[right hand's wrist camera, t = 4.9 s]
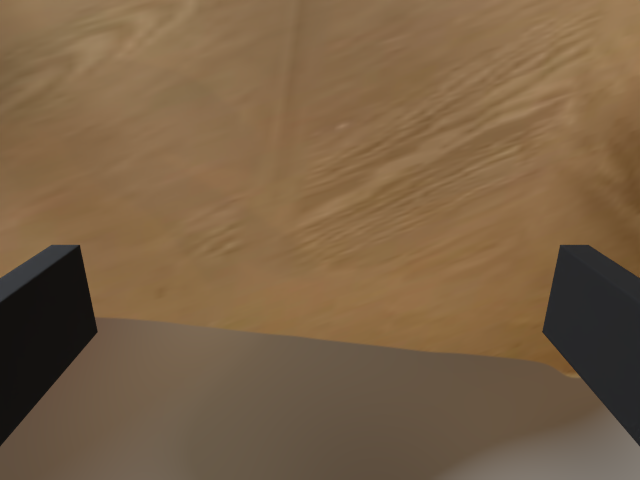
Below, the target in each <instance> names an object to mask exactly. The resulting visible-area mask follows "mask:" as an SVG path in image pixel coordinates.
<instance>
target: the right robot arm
mask: <svg viewBox="0 0 640 480" xmlns="http://www.w3.org/2000/svg"><path fill="white" fill-rule="evenodd" d="M542 332H543V333H544V334H545V336H546V337H547V338H548V339H549V340H550V341H551V343H552V344H553V345H554V346H555V347H556V349H557V350H558V351H559V352H560V353H561V354H562V356H563V357H564V358H565V359H566V360H567V361H568V363H569V364H570V365H571V366H572V367H573V368H574V370H575V371H576V372H577V373H578V374H579V376H580V377H581V378H582V379H583V380H584V381H585V383H586V384H587V385H588V386H589V387H590V388H591V390H592V391H593V392H594V393H595V394H596V395H597V397H598V398H599V399H600V400H601V401H602V402H603V404H604V405H605V406H606V407H607V408H608V410H609V411H610V412H611V413H612V414H613V415H614V417H615V418H616V419H617V420H618V421H619V422H620V424H621V425H622V426H623V427H624V428H625V429H626V431H627V432H628V433H629V434H630V435H631V436H632V438H633V439H634V440H635V441H636V442H637V443H638V445H639V446H640V278H638V277H637V276H635V275H634V274H632V273H631V272H629V271H628V270H626V269H625V268H623V267H622V266H620V265H618V264H617V263H615V262H614V261H612V260H611V259H609V258H608V257H606V256H605V255H603V254H601V253H600V252H598V251H597V250H595V249H594V248H592V247H591V246H589V245H560V249H559V254H558V259H557V263H556V268H555V273H554V278H553V283H552V288H551V293H550V297H549V302H548V307H547V312H546V317H545V322H544V327H543V331H542ZM96 333H97V327H96V322H95V317H94V312H93V307H92V302H91V297H90V293H89V288H88V283H87V278H86V273H85V268H84V263H83V259H82V254H81V249H80V245H51V246H49V247H48V248H46V249H45V250H43V251H42V252H40V253H39V254H37V255H35V256H34V257H32V258H31V259H29V260H28V261H26V262H25V263H23V264H22V265H20V266H18V267H17V268H15V269H14V270H12V271H11V272H9V273H8V274H6V275H5V276H3V277H2V278H0V446H1V445H2V443H3V442H4V441H5V440H6V439H7V438H8V437H9V435H10V434H11V433H12V432H13V431H14V429H15V428H16V427H17V426H18V425H19V424H20V422H21V421H22V420H23V419H24V418H25V417H26V415H27V414H28V413H29V412H30V411H31V410H32V408H33V407H34V406H35V405H36V404H37V402H38V401H39V400H40V399H41V398H42V397H43V395H44V394H45V393H46V392H47V391H48V390H49V388H50V387H51V386H52V385H53V384H54V382H55V381H56V380H57V379H58V378H59V377H60V376H61V374H62V373H63V372H64V371H65V370H66V368H67V367H68V366H69V365H70V364H71V363H72V361H73V360H74V359H75V358H76V357H77V356H78V354H79V353H80V352H81V351H82V350H83V348H84V347H85V346H86V345H87V344H88V343H89V341H90V340H91V339H92V338H93V337H94V336H95V334H96Z"/></svg>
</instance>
